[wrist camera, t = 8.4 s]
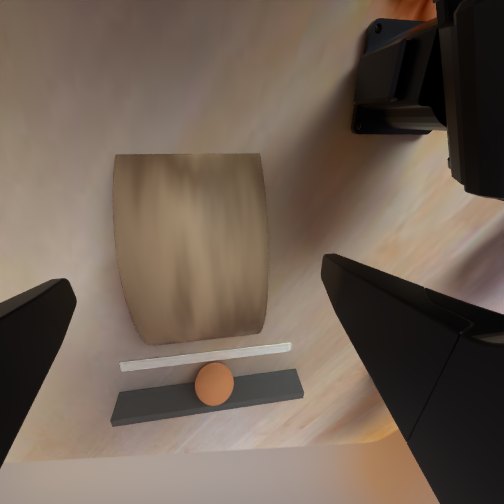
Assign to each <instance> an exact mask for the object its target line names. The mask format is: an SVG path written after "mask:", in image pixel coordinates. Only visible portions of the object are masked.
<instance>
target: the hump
mask: <svg viewBox="0 0 504 504" xmlns="http://www.w3.org/2000/svg"><path fill="white" fill-rule="evenodd" d="M113 220H114V233H115V244H116V252H117V260H118V266H119V272H120V278H121V283H122V287H123V291H124V296H125V300H126V303H127V306H128V310H129V313H130V316H131V318H132V321H133V323H134V326H135V328H136V330H137V332H138V333H139V335H140V337H141V338H142V339H143V340H144V342H145V343H147V344H148V345H162V344H171V343H180V342H189V341H198V340H207V339H216V338H225V337H234V336H243V335H252V334H259V333H260V332H261V330H262V328H263V325H264V321H265V316H266V308H267V297H268V275H269V249H268V224H267V208H266V196H265V186H264V178H263V170H262V164H261V157H260V154H134V155H116V157H115V166H114V176H113Z"/></svg>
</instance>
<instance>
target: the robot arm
mask: <svg viewBox="0 0 504 504" xmlns="http://www.w3.org/2000/svg"><path fill="white" fill-rule="evenodd" d="M435 2H436V10H437V17H436V18H434V19H431V20H429V21H427V22H424V21H411V20H398V19H384V18H379V19H376V20H375V21H373V22H372V23H371V24H370V25H369V27H368V31H367V37H366V42H365V48H364V54H363V56H362V58H361V59H360V65H359V71H358V77H357V83H356V89H355V95H354V102H355V107H354V113H353V119H352V125H351V130H352V132H353V133H354V134H425V135H426V134H429V133H430V132H431V131H432V130H442V131H447V135H448V146H449V158H448V167H449V168H450V169H451V173H452V177H453V178H454V179H456V180H457V181H458V182H459V183H461V184H462V185H464V190H465V191H466V192H468V193H470V194H474V195H477V196H481V197H485V198H492V199H498V200H502V201H504V0H433V3H435ZM375 26H378V28H379V31H378V33H377V34H376V33H375ZM359 123H360V124H361V127H360V129H359V130H358V129H357V126H358V124H359ZM321 279H322V281H323V284H324V286H325V289H326V291H327V294H328V296H329V299H330V301H331V304H332V306H333V308H334V311H335V313H336V315H337V317H338V318H339V320H340V322H341V324H342V326H343V328H344V329H345V331H346V333H347V335H348V337H349V339H350V340H351V342H352V344H353V346H354V348H355V349H356V351H357V353H358V355H359V357H360V359H361V360H362V362H363V364H364V366H365V368H366V370H367V371H368V373H369V375H370V377H371V379H372V380H373V382H374V384H375V386H376V388H377V390H378V391H379V393H380V395H381V397H382V399H383V401H384V402H385V404H386V406H387V408H388V410H389V411H390V413H391V415H392V417H393V419H394V421H395V422H396V424H397V426H398V428H399V430H400V431H401V433H402V435H403V437H404V439H405V440H406V442H407V445H408V446H409V448H410V450H411V452H412V454H413V456H414V457H415V459H416V461H417V463H418V464H419V467H420V468H421V470H422V472H423V474H424V476H425V477H426V479H427V481H428V483H429V485H430V487H431V488H432V490H433V492H434V494H435V495H436V497H437V499H438V501H439V503H440V504H504V315H503V314H500V313H497V312H494V311H491V310H488V309H485V308H482V307H479V306H476V305H473V304H470V303H467V302H464V301H461V300H458V299H455V298H453V297H450V296H447V295H444V294H441V293H439V292H436V291H433V290H431V289H428V288H425V289H424V287H423V286H420V285H417V284H415V283H412V282H409V281H407V280H404V279H401V278H399V277H396V276H393V275H391V274H388V273H385V272H383V271H380V270H378V269H375V268H372V267H370V266H367V265H364V264H362V263H359V262H356V261H354V260H351V259H348V258H346V257H343V256H340V255H338V254H334V253H333V254H325V255H324V256H323V260H322V268H321ZM76 303H77V300H76V296H75V294H74V291H73V289H72V287H71V285H70V282H69V281H68V280H67V279H65V278H60V279H52V280H49V281H47V282H45V283H43V284H41V285H38V286H36V287H34V288H32V289H30V290H27V291H25V292H23V293H21V294H19V295H17V296H14V297H12V298H10V299H8V300H6V301H3V302H1V303H0V468H1V466H2V464H3V462H4V460H5V458H6V456H7V454H8V452H9V450H10V448H11V446H12V444H13V442H14V440H15V438H16V436H17V434H18V432H19V430H20V428H21V426H22V424H23V422H24V420H25V418H26V416H27V414H28V412H29V410H30V408H31V406H32V404H33V402H34V400H35V398H36V396H37V394H38V392H39V390H40V388H41V386H42V384H43V382H44V380H45V377H46V375H47V373H48V371H49V369H50V367H51V365H52V363H53V361H54V359H55V357H56V355H57V353H58V351H59V349H60V347H61V345H62V342H63V340H64V337H65V335H66V332H67V329H68V326H69V324H70V321H71V318H72V315H73V313H74V310H75V307H76Z"/></svg>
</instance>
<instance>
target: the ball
mask: <svg viewBox="0 0 504 504" xmlns="http://www.w3.org/2000/svg"><path fill="white" fill-rule="evenodd" d="M233 386H234V379H233V375H232V373H231V371H230V370H229V368H228V367H227V366H225V365H224V364H221V363H210V364H208V365H206V366H204V367H203V368H202V369H201V370H200V372H199V373H198V375H197V377H196V381H195V390H196V394H197V396H198V398H199V399H200V400H201V401H202V402H203V403H205V404H207V405H210V406H216V405H220V404H222V403H223V402H225V401H226V400H227V399H228V398H229V396H230V395H231V393H232V390H233Z"/></svg>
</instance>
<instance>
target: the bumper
mask: <svg viewBox="0 0 504 504" xmlns="http://www.w3.org/2000/svg"><path fill="white" fill-rule="evenodd" d="M233 379H234V386H233V390H232V393H231V395H230V396H229V398H228V399H227V400H226V401H225V402H223V403H222V404H220V405H216V406H210V405H207V404H205V403H203V402H202V401H201V400H200V399H199V398H198V396H197V394H196V390H195V382H194V383H187V384H180V385H172V386H165V387H157V388H150V389H142V390H135V391H127V392H120V393H119V396H118V399H117V402H116V405H115V408H114V411H113V414H112V417H111V424H112V426H113V427H115V426H121V425H128V424H135V423H141V422H148V421H154V420H161V419H168V418H174V417H181V416H187V415H194V414H201V413H207V412H214V411H220V410H227V409H234V408H240V407H247V406H253V405H260V404H266V403H273V402H280V401H286V400H293V399H299V398H303V395H304V391H303V388H302V385H301V382H300V380H299V377H298V374H297V371H296V369H291V370H284V371H277V372H269V373H262V374H254V375H247V376H239V377H233Z"/></svg>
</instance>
